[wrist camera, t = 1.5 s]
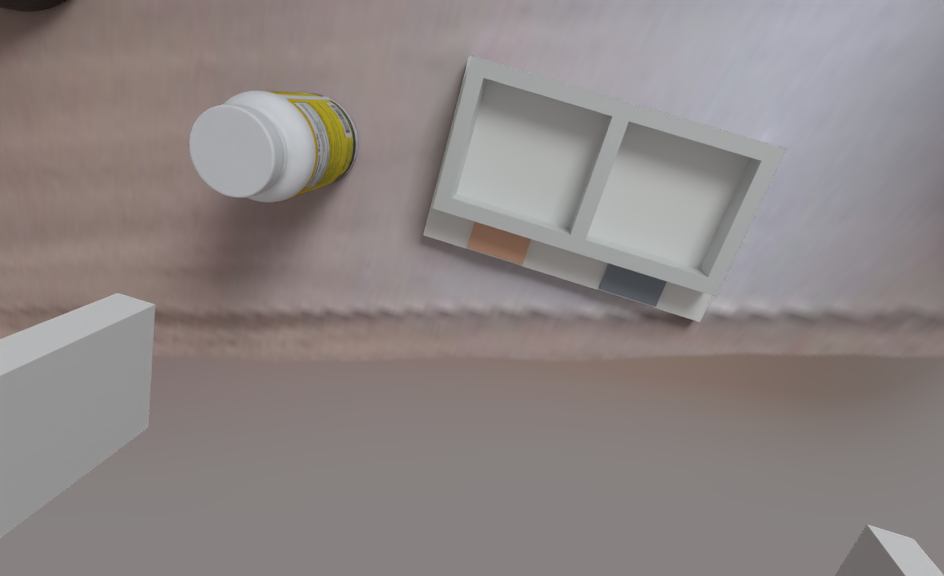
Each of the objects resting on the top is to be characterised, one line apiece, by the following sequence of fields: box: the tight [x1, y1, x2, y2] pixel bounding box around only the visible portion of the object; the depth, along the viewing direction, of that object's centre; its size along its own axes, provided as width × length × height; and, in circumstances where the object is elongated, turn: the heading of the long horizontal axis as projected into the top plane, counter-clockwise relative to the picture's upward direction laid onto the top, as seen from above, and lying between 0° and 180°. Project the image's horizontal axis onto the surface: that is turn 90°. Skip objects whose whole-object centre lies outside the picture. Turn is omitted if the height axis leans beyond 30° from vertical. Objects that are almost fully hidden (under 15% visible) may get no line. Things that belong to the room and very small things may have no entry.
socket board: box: [423, 56, 786, 322], centre depth 35 cm, size 20×12×3 cm, turn 74°
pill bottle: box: [189, 91, 358, 202], centre depth 33 cm, size 6×6×11 cm
